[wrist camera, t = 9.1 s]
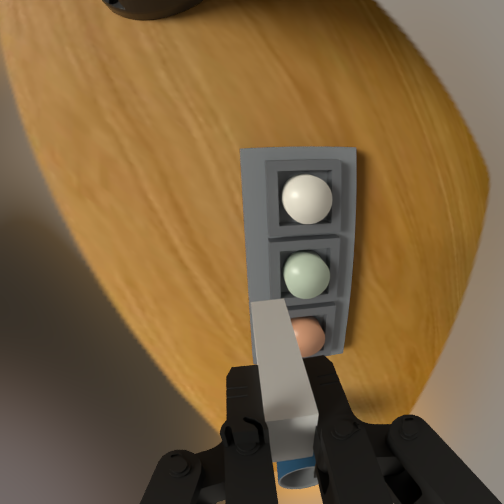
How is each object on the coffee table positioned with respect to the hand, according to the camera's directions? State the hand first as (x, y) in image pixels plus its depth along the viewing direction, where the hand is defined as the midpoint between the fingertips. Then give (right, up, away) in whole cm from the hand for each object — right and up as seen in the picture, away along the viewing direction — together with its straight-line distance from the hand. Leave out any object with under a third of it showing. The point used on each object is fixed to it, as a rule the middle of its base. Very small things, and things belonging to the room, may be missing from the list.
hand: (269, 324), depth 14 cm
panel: (+5, +2, +21) cm, 21 cm away
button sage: (+5, +1, +19) cm, 19 cm away
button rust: (+5, -6, +21) cm, 23 cm away
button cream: (+4, +9, +16) cm, 19 cm away
